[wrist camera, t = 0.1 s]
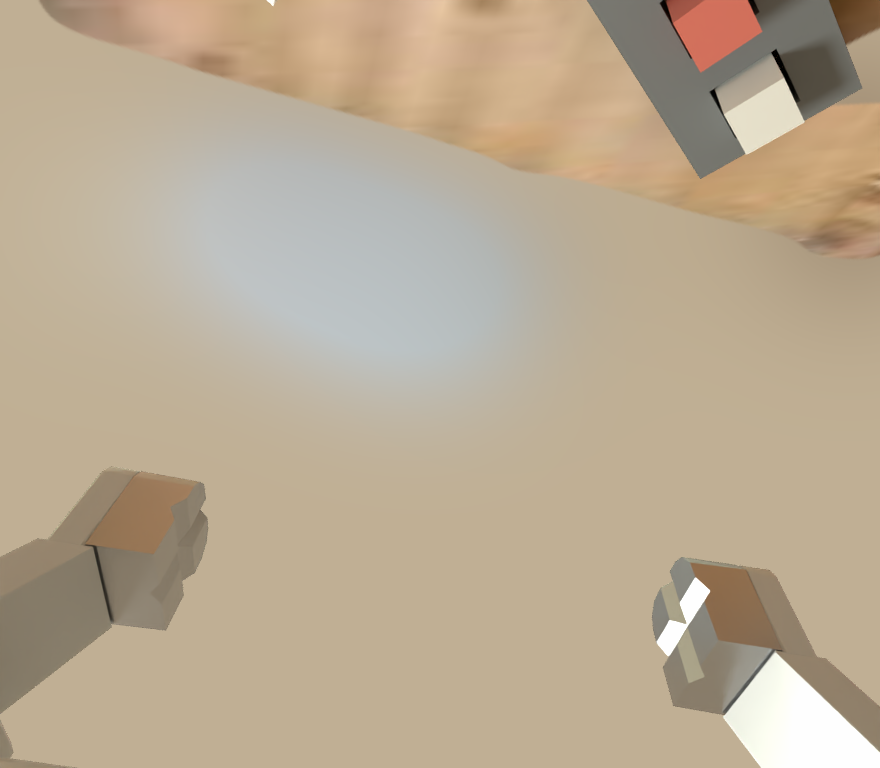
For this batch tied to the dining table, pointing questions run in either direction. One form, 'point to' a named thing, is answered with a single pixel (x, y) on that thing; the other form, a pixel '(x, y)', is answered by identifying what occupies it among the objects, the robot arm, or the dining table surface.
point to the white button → (758, 104)
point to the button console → (728, 67)
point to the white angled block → (272, 2)
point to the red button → (713, 27)
